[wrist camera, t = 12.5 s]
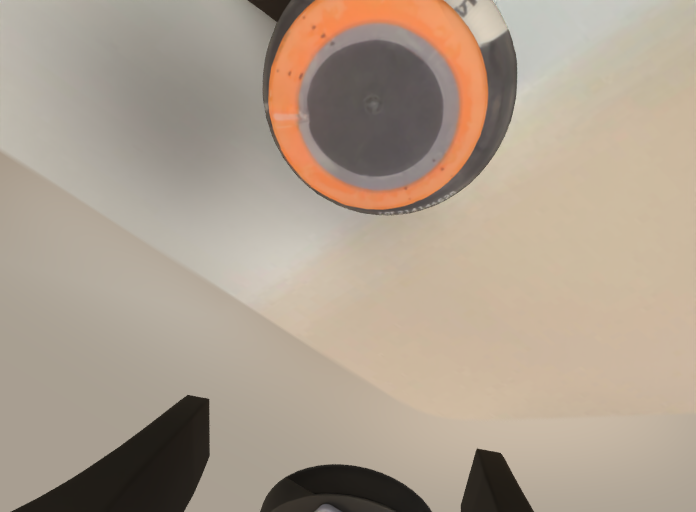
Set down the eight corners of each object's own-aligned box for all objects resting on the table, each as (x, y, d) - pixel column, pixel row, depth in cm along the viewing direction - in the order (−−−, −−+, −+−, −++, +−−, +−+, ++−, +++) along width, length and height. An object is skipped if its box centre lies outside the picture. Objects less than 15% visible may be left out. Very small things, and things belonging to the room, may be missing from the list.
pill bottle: (432, -42, 17) (452, -199, 7) (505, 107, 19) (613, 166, 8) (297, 54, 19) (148, 47, 9) (373, 182, 20) (325, 308, 10)
